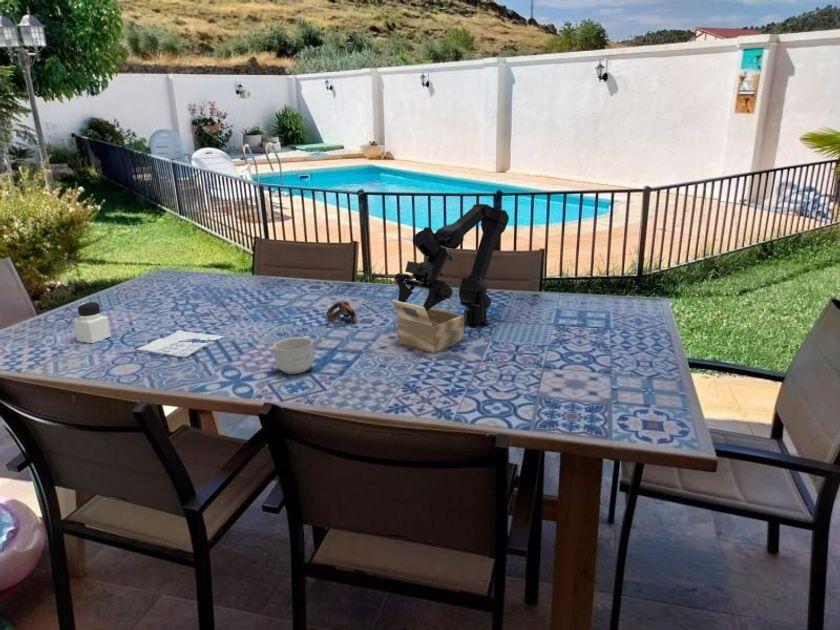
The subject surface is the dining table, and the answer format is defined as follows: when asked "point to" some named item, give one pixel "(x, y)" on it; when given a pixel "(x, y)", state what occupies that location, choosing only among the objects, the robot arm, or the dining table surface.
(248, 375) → the dining table surface
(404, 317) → the flap
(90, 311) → the medicine bottle
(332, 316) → the brown wooden arch
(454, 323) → the tan wooden open box
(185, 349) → the white open book
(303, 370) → the teacup
